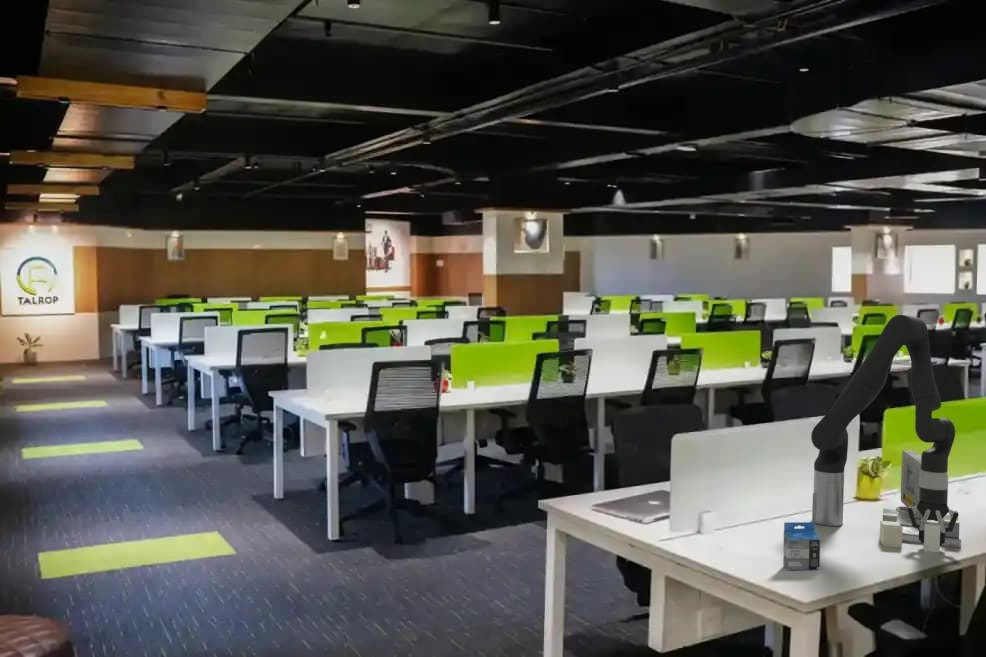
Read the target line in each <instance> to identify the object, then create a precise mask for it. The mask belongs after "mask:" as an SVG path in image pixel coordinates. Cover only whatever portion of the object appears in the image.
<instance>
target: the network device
mask: <svg viewBox="0 0 986 657" xmlns="http://www.w3.org/2000/svg"><path fill="white" fill-rule="evenodd" d="M921 456H922V454H919V453H918V452H917V451H916V450H902V452H901V474H900V475H901V477H900V480H901V481H900V502H901V503H902V504H903V505H904V506H896V507H895V510H897V513H899V514H900V515H901V516H902V518H904V520H906V521H908V522H911V519H910V516H909V513H908V511H903V510H908V506H911V507H913V506H917V504H918V503H919V481H920V473H921ZM914 516H915V517H917V518H918V519H917V518H915V519H916V522H917V523H920V522H921V519H922V515H921V513H920V512H919V511H918V510H916V514H914Z"/></svg>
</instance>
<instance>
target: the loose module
mask: <svg viewBox="0 0 986 657" xmlns="http://www.w3.org/2000/svg"><path fill="white" fill-rule="evenodd" d="M940 547H941V546H940V525H939V523H938V521H934V520H927V522H926V523H925V527H924V544H923V551H924V552H927V551H930V552H929V553H935V552H938V553H937V554H939V553H940V549H941V548H940Z"/></svg>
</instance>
